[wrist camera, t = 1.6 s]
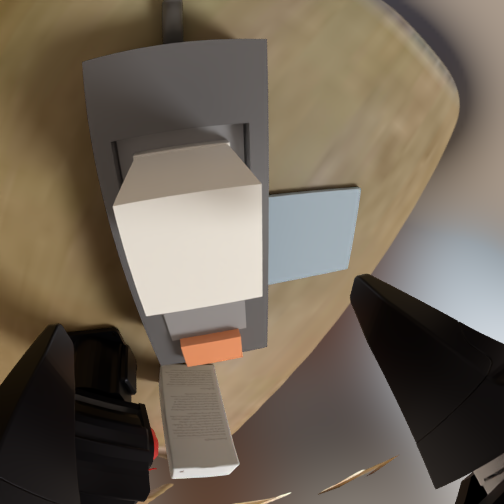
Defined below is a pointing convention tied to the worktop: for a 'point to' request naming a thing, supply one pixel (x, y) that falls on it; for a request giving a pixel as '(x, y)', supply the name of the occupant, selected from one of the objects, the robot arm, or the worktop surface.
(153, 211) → the block
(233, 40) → the gray recessed block
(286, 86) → the worktop surface
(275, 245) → the mat
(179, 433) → the skincare box
